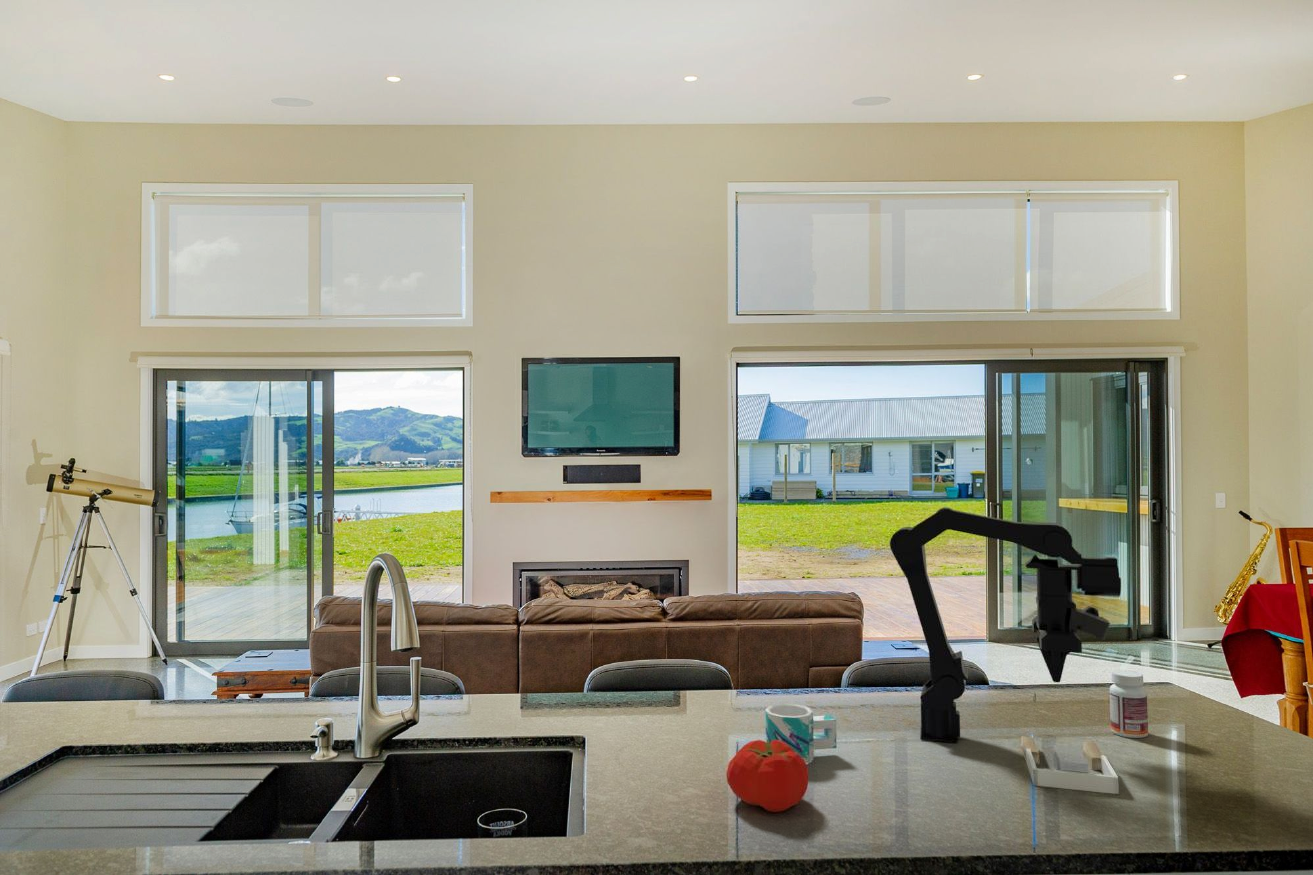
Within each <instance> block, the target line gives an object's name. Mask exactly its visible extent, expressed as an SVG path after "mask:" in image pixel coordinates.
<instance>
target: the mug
mask: <svg viewBox="0 0 1313 875" xmlns="http://www.w3.org/2000/svg"><path fill="white" fill-rule="evenodd" d="M814 730H823V734H814ZM767 740H768V741H769V743H770V742H771V741H773V740H779V741H782V742H785V743H786V744H787V745H789V746H790V747H791V748H792V749H793V750H794V751H795V753H798V754H799V755H800V756H801V757H802V758H803V759H804V761H805V763H810V761H812V759H813V760H815V758H814V756H815V753H814V751H815V750H827V749H837V719H836V718H835V717H834V716H832V715H831V714H829V715H828V714H827V715H814V711H813V710H812V709H811V707H808V706H805V705H801V704H796V703H779V704H778V703H777V704H772V705H769V706H768V707H767V708H766V709H765V742H766V743H767ZM812 762H813V761H812ZM810 764H811V763H810Z"/></svg>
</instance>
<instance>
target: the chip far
mask: <svg viewBox="0 0 1313 875" xmlns="http://www.w3.org/2000/svg"><path fill="white" fill-rule="evenodd" d="M1056 753H1062V754H1073V755H1084V753H1083V751H1082V749H1081V748H1080V747H1079V746H1071V745H1069V746H1068V745H1057V744H1053V745H1052V767H1053V768H1052V770H1057V760H1056Z"/></svg>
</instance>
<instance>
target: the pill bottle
mask: <svg viewBox="0 0 1313 875" xmlns="http://www.w3.org/2000/svg"><path fill="white" fill-rule="evenodd" d="M1111 682H1112V683H1113V684H1111V685H1110V687H1109V711H1110V712H1109V713H1110V714H1109V716H1110V730H1111V732H1112V733H1114V734H1115V735H1117V736H1121V737H1123V738H1128V739H1142V738H1147V736H1148V735H1149V720H1148V716H1149V715H1148V714H1149V712H1148V693H1147V690H1146V688H1144V687H1143V685H1144V675H1143V673H1141V672H1138V671H1136V670H1131V669H1130V670H1127V669H1115V670H1112V671H1111Z"/></svg>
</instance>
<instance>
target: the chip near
mask: <svg viewBox="0 0 1313 875" xmlns="http://www.w3.org/2000/svg"><path fill="white" fill-rule="evenodd" d="M1056 760H1057V770H1058V771H1068V772H1078V773H1088V774H1090V773H1089V763H1088V761H1087V759H1086V757H1085V755H1084V754H1083V755H1073V754H1062V753H1056Z"/></svg>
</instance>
